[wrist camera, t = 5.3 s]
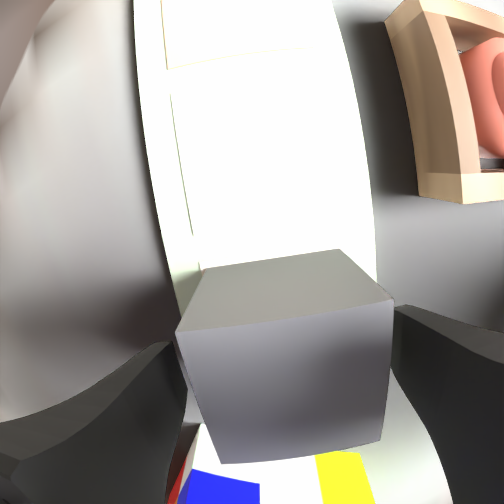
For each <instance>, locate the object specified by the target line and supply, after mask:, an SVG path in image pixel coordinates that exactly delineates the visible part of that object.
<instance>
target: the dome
mask: <svg viewBox="0 0 504 504" xmlns="http://www.w3.org/2000/svg"><path fill="white" fill-rule="evenodd" d="M459 58H460V62H461V65H462V69H463V73H464V76H465V80H466V84H467V88H468V93H469V97H470V102H471V107H472V112H473V117H474V123H475V129H476V135H477V142H478V150H479V158H485V159H504V38H498V37H496V38H492V39H490V40H487V41H485V42H483V43H481V44H479V45H477V46H475V47H473V48H471V49H469V50H467V51H465V52H463V53H461V54H459Z"/></svg>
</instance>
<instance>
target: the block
mask: <svg viewBox="0 0 504 504" xmlns="http://www.w3.org/2000/svg"><path fill="white" fill-rule="evenodd" d="M393 316H394V299H393V298H392V297H391V296H390V295H389V294H388V293H387V292H386V291H385V290H384V289H383V288H382V287H381V286H380V285H379V284H378V283H377V282H376V281H375V280H373V279H372V278H371V277H370V276H369V275H368V274H367V273H366V272H365V271H364V270H363V269H362V268H361V267H360V266H359V265H357V264H356V263H355V262H354V261H353V260H352V259H351V258H350V257H349V256H348V255H347V254H345V253H344V252H343V251H342V250H341V249H340V248H336V249H330V250H323V251H317V252H310V253H304V254H297V255H291V256H284V257H277V258H271V259H264V260H257V261H250V262H244V263H237V264H230V265H223V266H216V267H209V268H207V269H206V271H205V273H204V275H203V277H202V279H201V281H200V283H199V285H198V287H197V289H196V291H195V293H194V295H193V297H192V299H191V301H190V303H189V305H188V307H187V309H186V311H185V313H184V315H183V317H182V319H181V321H180V323H179V325H178V327H177V329H176V331H175V335H176V338H177V341H178V345H179V348H180V351H181V355H182V358H183V361H184V364H185V367H186V370H187V373H188V377H189V380H190V383H191V386H192V388H193V391H194V394H195V397H196V400H197V403H198V406H199V409H200V411H201V414H202V417H203V419H204V422H205V425H206V428H207V430H208V433H209V435H210V438H211V441H212V443H213V446H214V448H215V451H216V453H217V456H218V458H219V460H220V463H221V464H242V463H257V462H268V461H277V460H286V459H293V458H300V457H307V456H313V455H319V454H324V453H329V452H334V451H339V450H344V449H348V448H353V447H357V446H361V445H365V444H369V443H373V442H376V441H380V438H381V433H382V427H383V421H384V414H385V407H386V400H387V392H388V384H389V375H390V364H391V352H392V337H393Z"/></svg>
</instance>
